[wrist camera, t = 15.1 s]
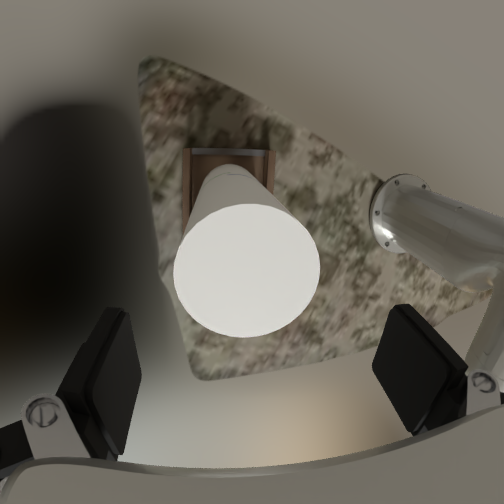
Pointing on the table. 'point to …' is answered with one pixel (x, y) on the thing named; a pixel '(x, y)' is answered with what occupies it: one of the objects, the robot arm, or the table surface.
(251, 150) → the brown wooden tray
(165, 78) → the table surface
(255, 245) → the cylindrical container
